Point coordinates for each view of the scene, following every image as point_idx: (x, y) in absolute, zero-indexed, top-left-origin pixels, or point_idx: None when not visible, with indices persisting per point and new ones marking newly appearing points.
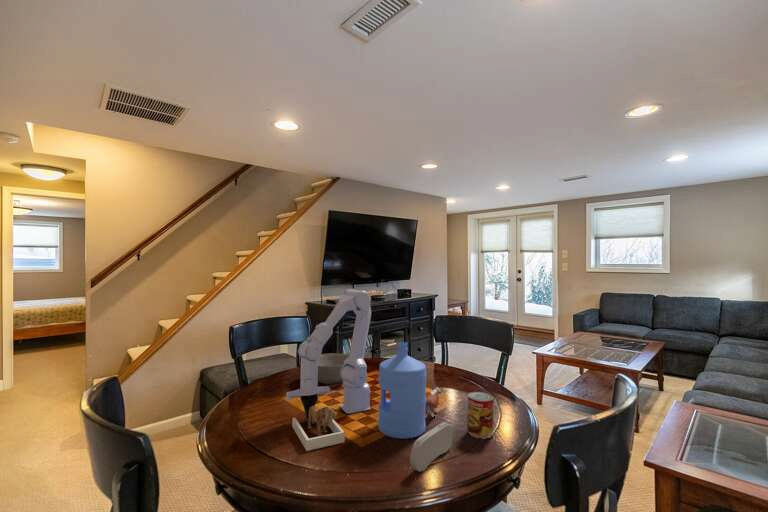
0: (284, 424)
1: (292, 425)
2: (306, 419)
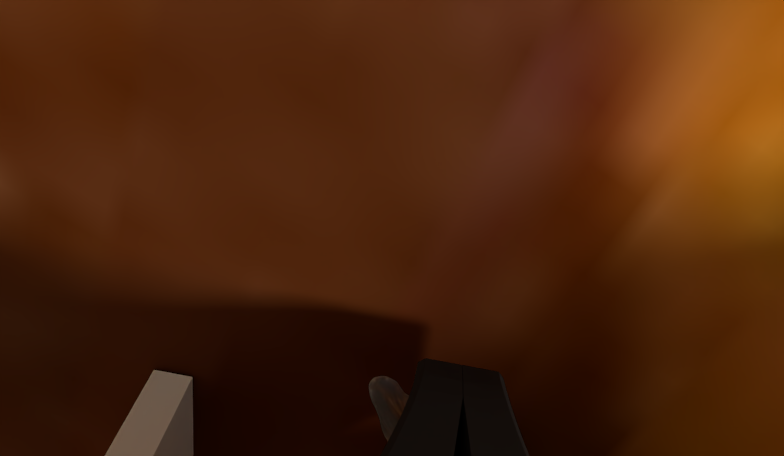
0: (45, 221)
1: (143, 388)
2: (389, 434)
